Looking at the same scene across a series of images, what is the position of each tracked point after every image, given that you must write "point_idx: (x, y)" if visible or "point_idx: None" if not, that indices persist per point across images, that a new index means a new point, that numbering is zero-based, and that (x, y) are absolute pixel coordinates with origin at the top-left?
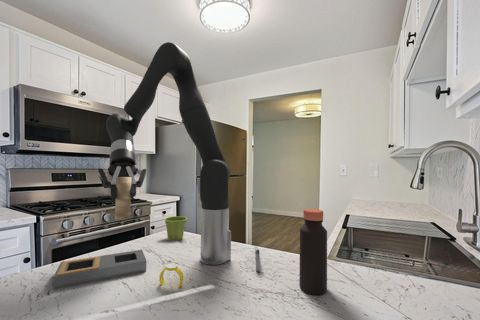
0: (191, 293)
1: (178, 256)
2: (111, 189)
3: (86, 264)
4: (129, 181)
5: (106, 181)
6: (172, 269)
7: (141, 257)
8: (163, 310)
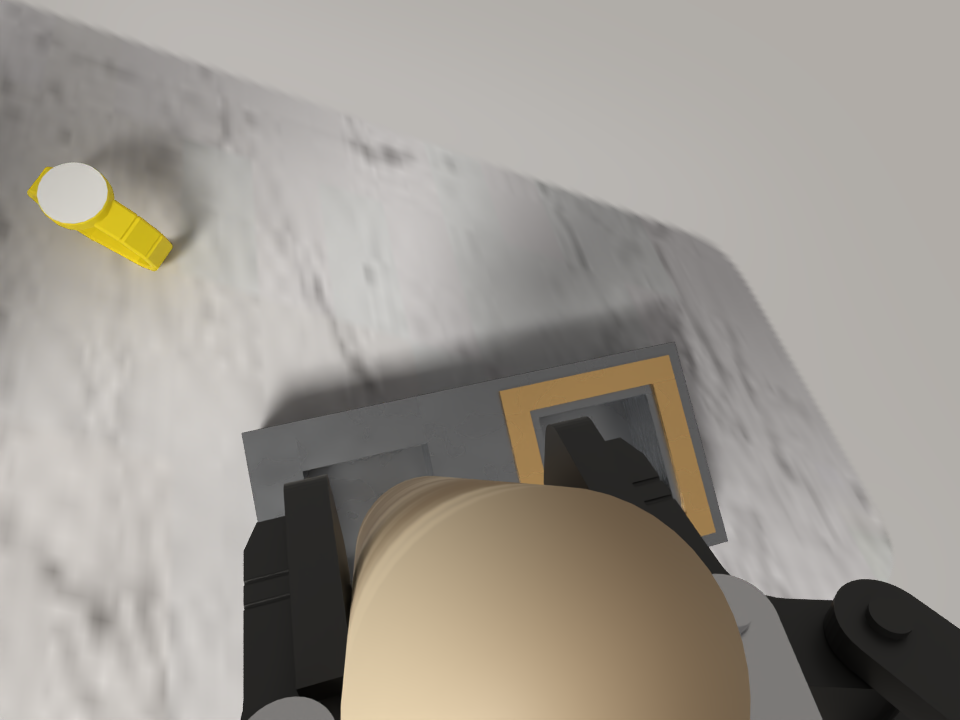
0: (26, 168)
1: (22, 701)
2: (670, 512)
3: None
4: (376, 576)
5: (872, 598)
6: (75, 164)
7: (277, 498)
8: (171, 85)
